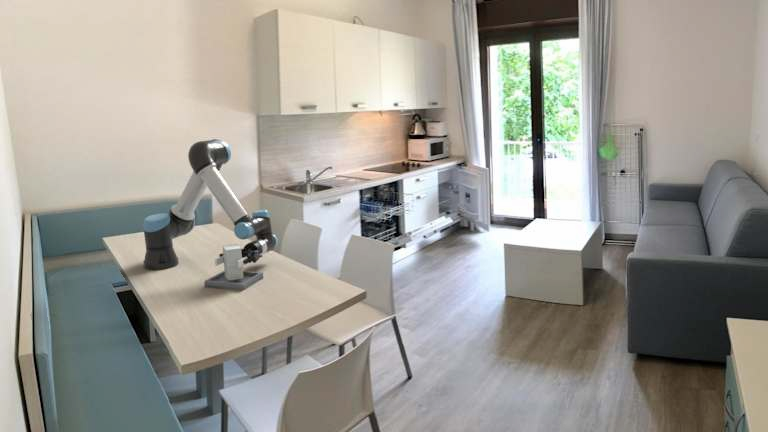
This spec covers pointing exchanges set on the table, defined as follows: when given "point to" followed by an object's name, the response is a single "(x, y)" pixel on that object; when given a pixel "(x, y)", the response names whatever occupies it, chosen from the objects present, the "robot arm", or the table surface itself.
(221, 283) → the tray
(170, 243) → the robot arm
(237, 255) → the small box
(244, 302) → the table surface
